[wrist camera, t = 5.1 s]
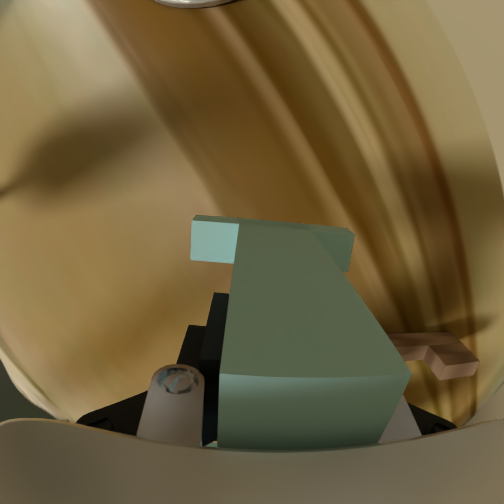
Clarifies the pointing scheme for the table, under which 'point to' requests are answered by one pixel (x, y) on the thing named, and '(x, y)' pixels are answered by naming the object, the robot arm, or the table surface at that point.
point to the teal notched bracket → (297, 339)
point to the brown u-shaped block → (437, 353)
